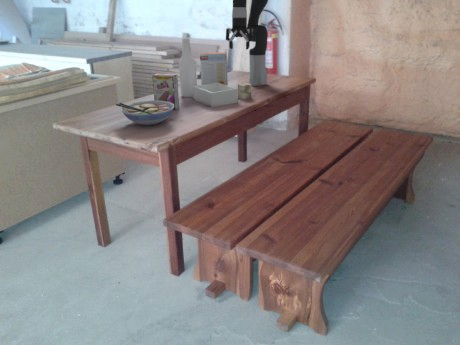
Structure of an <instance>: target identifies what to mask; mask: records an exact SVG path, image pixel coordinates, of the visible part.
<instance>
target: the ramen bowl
mask: <svg viewBox="0 0 460 345" xmlns="http://www.w3.org/2000/svg"><path fill="white" fill-rule="evenodd" d="M115 106H118V107H121V109H120V110H121V113H122V114H123V115H124V116H125V118H127V119H128V120H129V121H131V122H133V123H135V124H139V125H141V126H155V125H157V124H159V123H161V122H163V121H165V120H166V119H167V118H169V117H170V115H171V114H172V113H173V111H174V110H173V109H174V104H173V103H171V102H167V101H154V99H153V100H152V99H151V100H142V101H135V102H129V103H128V104H125V103H121V102H118V103H116V104H115Z"/></svg>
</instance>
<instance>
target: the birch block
mask: <svg viewBox="0 0 460 345" xmlns="http://www.w3.org/2000/svg"><path fill="white" fill-rule="evenodd" d="M237 89H238V99H240V100H241V99H242V100H247V99H246V98H248V99H252V85H251V84H250V83H247V82H244V83H238V84H237Z"/></svg>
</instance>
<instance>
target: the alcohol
mask: <svg viewBox="0 0 460 345" xmlns="http://www.w3.org/2000/svg"><path fill="white" fill-rule="evenodd" d="M181 41H182V45H181V46H182V48H181V49H182V52H181V53H182V54H181V57H180V59H179V60H178V71H179V86H180V87H179V88H180V95H181V97H182V98H193V86H198V82H197V81H198V78H197V62H196V60H195V58H194V57H193V55H192V49H191V40H190V37H182V38H181Z"/></svg>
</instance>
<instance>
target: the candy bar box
mask: <svg viewBox="0 0 460 345" xmlns="http://www.w3.org/2000/svg"><path fill="white" fill-rule="evenodd" d="M178 82H179V81H178V75H177V74H175V73H174V74H173V73H171V74H170V73H155V74H154V73H153V74H152V86H153V88H152V90H153V97H154V98H153V101H167V102H171V103H173V104H174V109H173V111H177V110H178V109H179V108H180V98H179V94H180V93H179V83H178Z"/></svg>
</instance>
